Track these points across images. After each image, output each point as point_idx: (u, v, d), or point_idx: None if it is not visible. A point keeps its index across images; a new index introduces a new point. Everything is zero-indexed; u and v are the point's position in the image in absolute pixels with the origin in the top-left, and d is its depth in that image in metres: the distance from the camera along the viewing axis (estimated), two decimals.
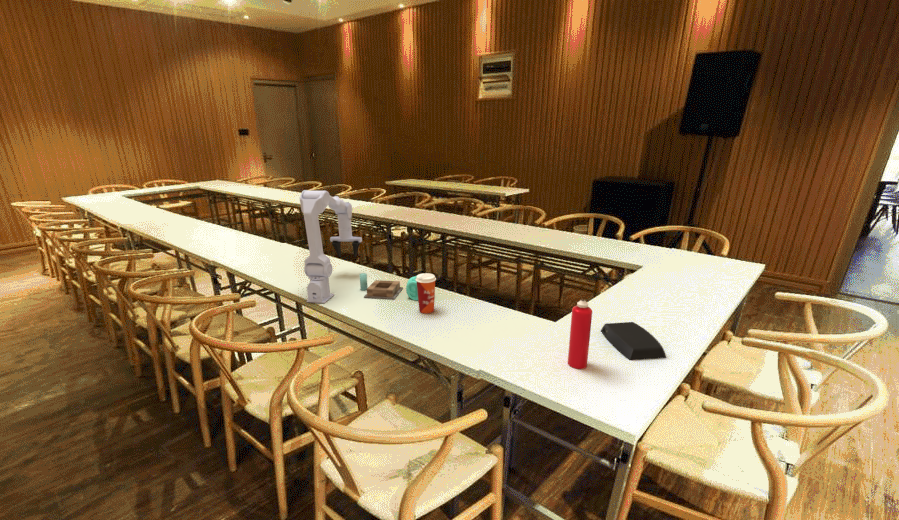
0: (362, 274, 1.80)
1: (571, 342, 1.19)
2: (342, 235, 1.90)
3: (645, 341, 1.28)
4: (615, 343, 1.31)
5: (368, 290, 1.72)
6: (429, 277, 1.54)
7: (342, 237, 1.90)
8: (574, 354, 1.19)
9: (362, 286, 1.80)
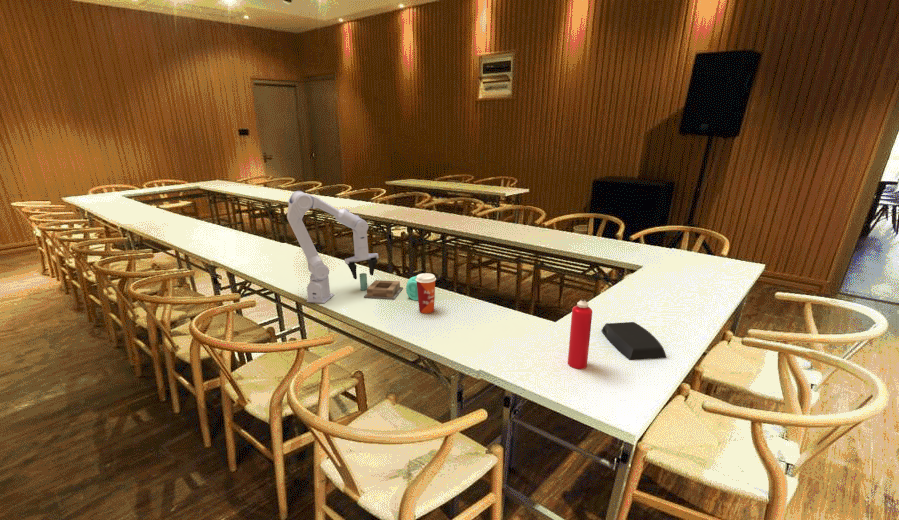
0: (362, 274, 1.80)
1: (571, 342, 1.19)
2: (363, 254, 1.75)
3: (646, 341, 1.28)
4: (615, 343, 1.31)
5: (368, 290, 1.72)
6: (429, 277, 1.54)
7: (363, 256, 1.75)
8: (574, 354, 1.19)
9: (362, 286, 1.80)
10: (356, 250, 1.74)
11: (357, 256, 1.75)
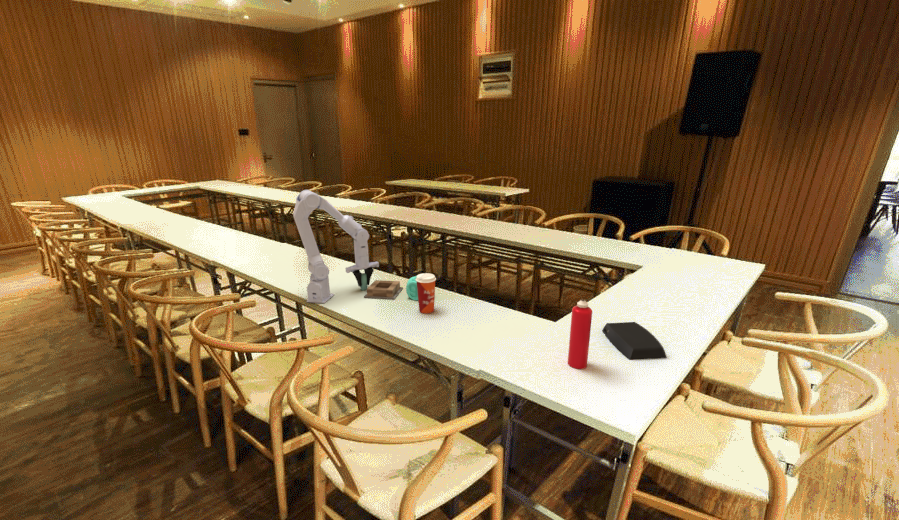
0: (362, 274, 1.80)
1: (571, 342, 1.19)
2: (363, 263, 1.76)
3: (646, 341, 1.28)
4: (615, 343, 1.31)
5: (368, 290, 1.72)
6: (429, 277, 1.54)
7: (363, 265, 1.76)
8: (574, 354, 1.19)
9: (362, 286, 1.80)
10: (357, 259, 1.76)
11: (358, 265, 1.76)
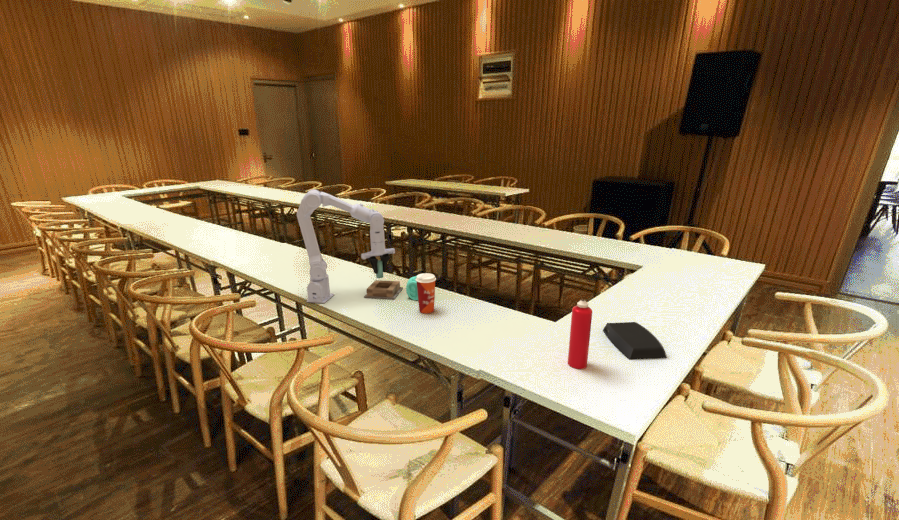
0: (378, 261, 1.74)
1: (571, 342, 1.19)
2: (380, 249, 1.70)
3: (646, 341, 1.28)
4: (615, 343, 1.32)
5: (368, 290, 1.72)
6: (429, 277, 1.54)
7: (380, 251, 1.70)
8: (574, 354, 1.19)
9: (378, 273, 1.75)
10: (373, 245, 1.70)
11: (374, 251, 1.70)
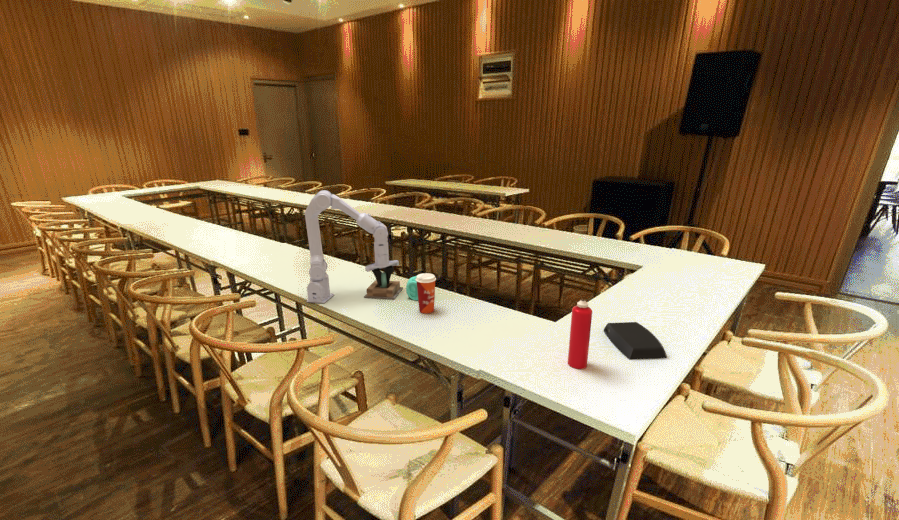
0: (382, 273, 1.75)
1: (571, 342, 1.19)
2: (384, 261, 1.71)
3: (646, 341, 1.28)
4: (616, 342, 1.32)
5: (368, 290, 1.72)
6: (429, 277, 1.54)
7: (384, 263, 1.71)
8: (574, 354, 1.19)
9: (382, 285, 1.75)
10: (377, 257, 1.70)
11: (378, 263, 1.71)
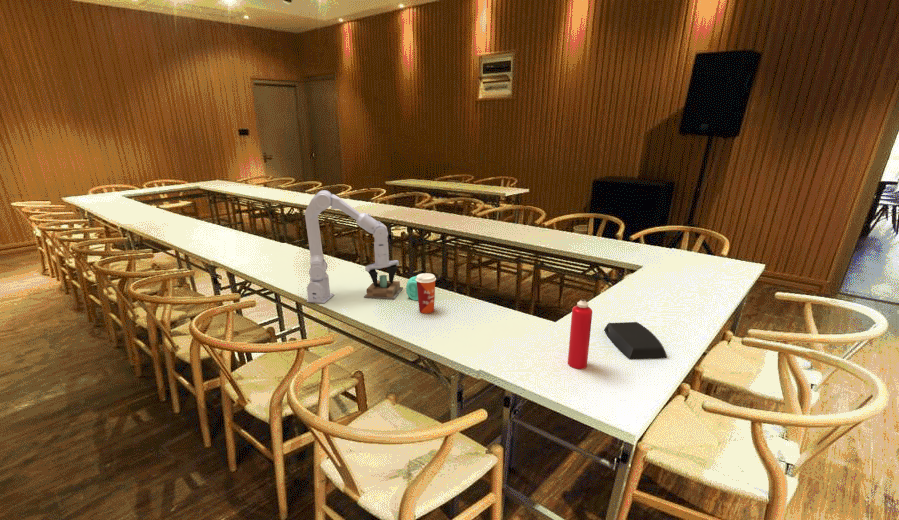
0: (382, 276, 1.75)
1: (571, 342, 1.19)
2: (384, 261, 1.71)
3: (647, 341, 1.28)
4: (616, 342, 1.32)
5: (368, 290, 1.72)
6: (429, 277, 1.54)
7: (384, 263, 1.71)
8: (574, 354, 1.19)
9: None
10: (377, 257, 1.70)
11: (378, 263, 1.71)
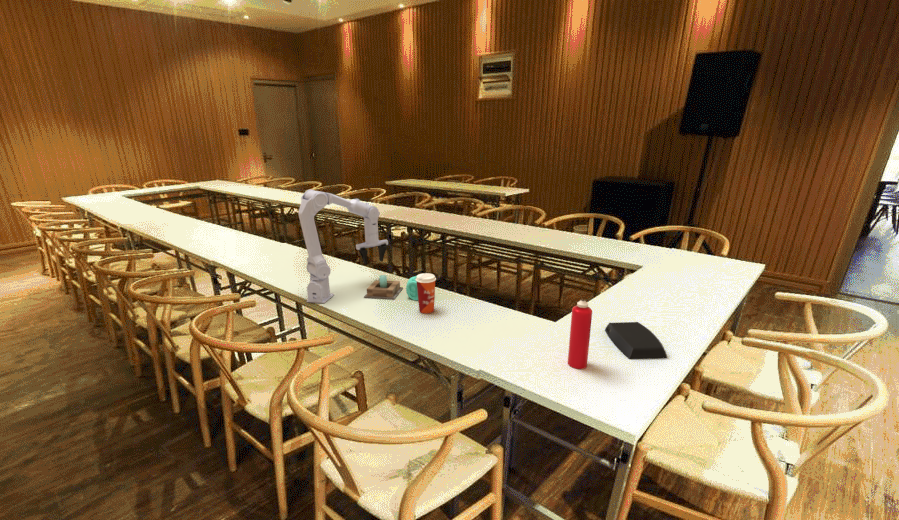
0: (382, 276, 1.75)
1: (571, 342, 1.19)
2: (373, 240, 1.81)
3: (647, 341, 1.28)
4: (616, 342, 1.32)
5: (368, 290, 1.72)
6: (429, 277, 1.54)
7: (373, 242, 1.81)
8: (574, 354, 1.19)
9: None
10: (367, 236, 1.80)
11: (368, 242, 1.81)
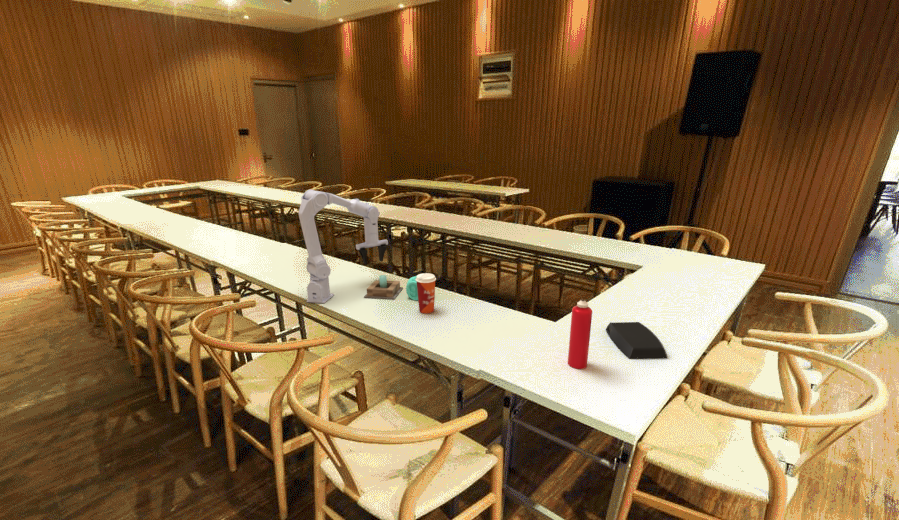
0: (382, 276, 1.75)
1: (571, 342, 1.19)
2: (373, 240, 1.81)
3: (647, 341, 1.28)
4: (617, 342, 1.32)
5: (368, 290, 1.72)
6: (429, 277, 1.54)
7: (373, 242, 1.81)
8: (574, 354, 1.19)
9: None
10: (367, 236, 1.80)
11: (368, 242, 1.81)
